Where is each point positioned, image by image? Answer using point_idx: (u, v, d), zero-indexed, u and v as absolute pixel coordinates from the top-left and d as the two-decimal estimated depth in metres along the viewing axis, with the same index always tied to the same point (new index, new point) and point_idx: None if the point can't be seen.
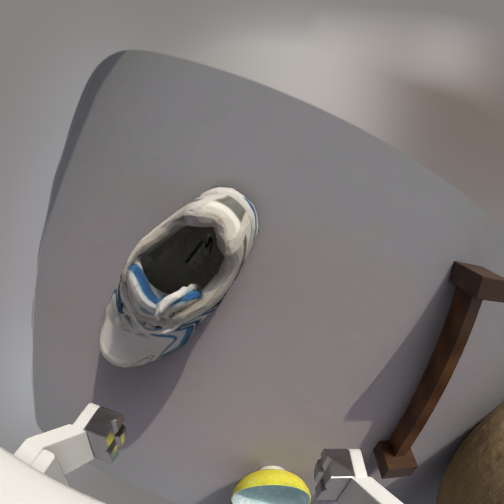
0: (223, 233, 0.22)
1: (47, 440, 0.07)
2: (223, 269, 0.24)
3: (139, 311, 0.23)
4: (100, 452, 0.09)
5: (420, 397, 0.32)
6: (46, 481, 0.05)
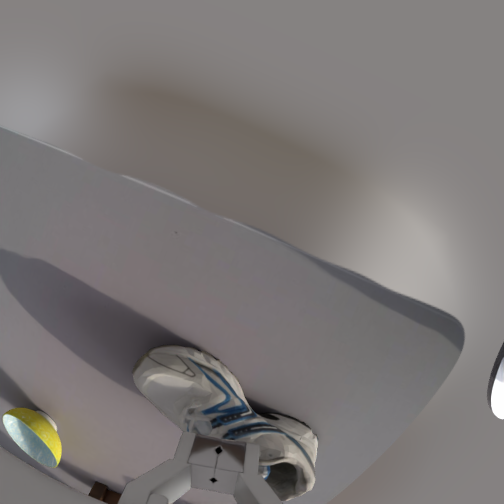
0: (290, 498, 0.24)
1: (152, 482, 0.07)
2: None
3: None
4: (201, 481, 0.09)
5: None
6: (46, 481, 0.05)
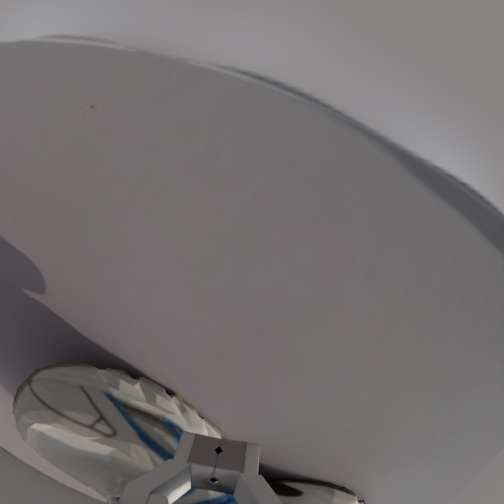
0: None
1: (152, 482, 0.07)
2: None
3: None
4: (201, 481, 0.09)
5: None
6: (46, 481, 0.05)
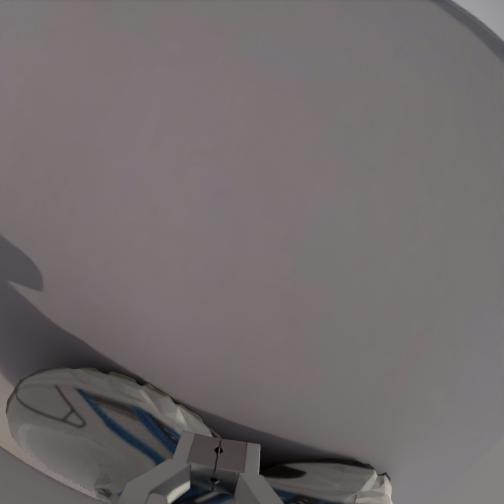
0: None
1: (151, 482, 0.07)
2: None
3: None
4: (200, 481, 0.09)
5: None
6: (46, 481, 0.05)
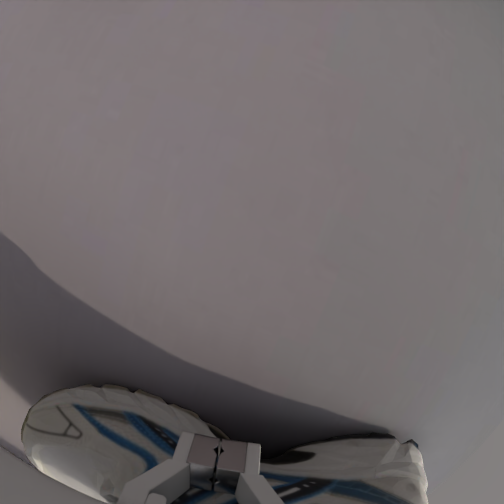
0: None
1: (151, 482, 0.07)
2: None
3: None
4: (200, 481, 0.09)
5: None
6: (46, 481, 0.05)
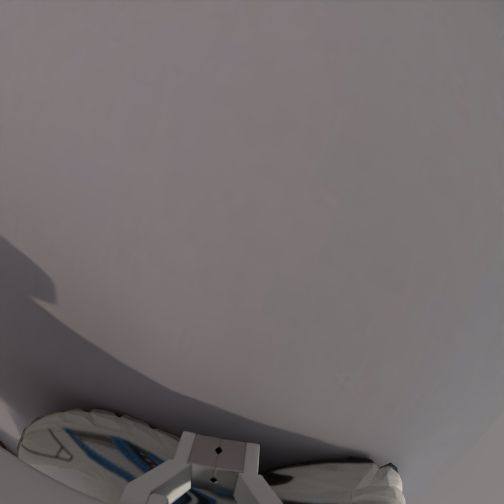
0: None
1: (152, 482, 0.07)
2: None
3: None
4: (201, 481, 0.09)
5: None
6: (46, 481, 0.05)
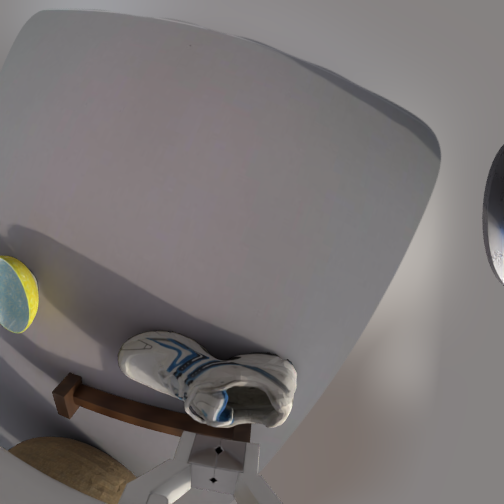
0: (278, 421, 0.31)
1: (152, 482, 0.07)
2: (254, 419, 0.33)
3: (197, 405, 0.30)
4: (201, 481, 0.09)
5: (133, 407, 0.40)
6: (46, 481, 0.05)
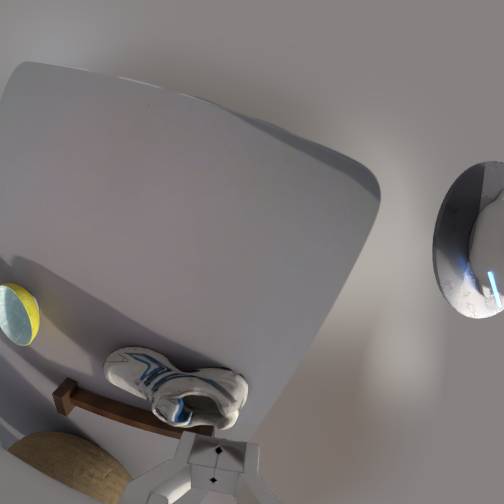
0: (226, 424, 0.38)
1: (152, 482, 0.07)
2: (209, 422, 0.40)
3: (161, 408, 0.37)
4: (201, 481, 0.09)
5: (118, 408, 0.47)
6: (46, 481, 0.05)
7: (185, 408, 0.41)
